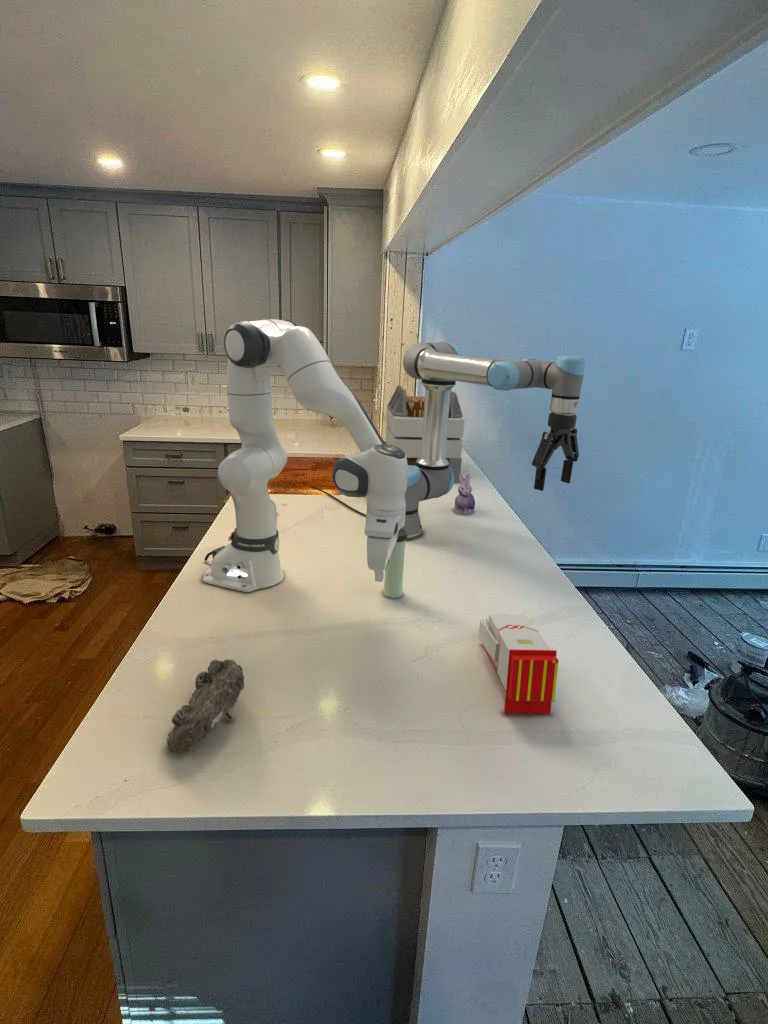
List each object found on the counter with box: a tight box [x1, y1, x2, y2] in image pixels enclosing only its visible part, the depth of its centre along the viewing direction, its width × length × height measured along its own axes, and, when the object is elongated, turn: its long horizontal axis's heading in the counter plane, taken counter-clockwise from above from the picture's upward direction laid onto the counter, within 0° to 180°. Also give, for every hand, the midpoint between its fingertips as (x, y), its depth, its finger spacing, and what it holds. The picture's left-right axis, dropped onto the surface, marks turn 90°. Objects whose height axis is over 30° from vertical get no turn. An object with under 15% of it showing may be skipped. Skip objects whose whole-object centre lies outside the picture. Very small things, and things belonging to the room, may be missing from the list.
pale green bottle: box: [383, 540, 406, 599], centre depth 155 cm, size 5×5×18 cm
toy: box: [477, 613, 560, 715], centre depth 124 cm, size 12×13×30 cm
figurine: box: [453, 473, 476, 515], centre depth 223 cm, size 9×10×15 cm
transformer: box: [384, 384, 465, 484], centre depth 268 cm, size 34×33×41 cm
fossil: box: [166, 658, 245, 754], centre depth 106 cm, size 22×10×15 cm
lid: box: [396, 529, 407, 542], centre depth 152 cm, size 6×6×2 cm
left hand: (382, 571), depth 133 cm, fingers open, 8 cm apart
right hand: (552, 485), depth 166 cm, fingers open, 13 cm apart
